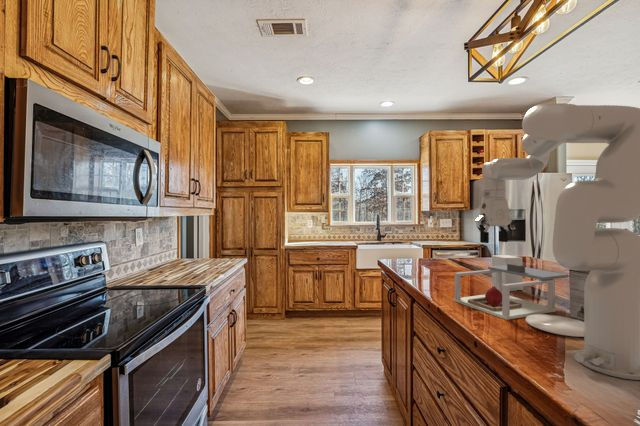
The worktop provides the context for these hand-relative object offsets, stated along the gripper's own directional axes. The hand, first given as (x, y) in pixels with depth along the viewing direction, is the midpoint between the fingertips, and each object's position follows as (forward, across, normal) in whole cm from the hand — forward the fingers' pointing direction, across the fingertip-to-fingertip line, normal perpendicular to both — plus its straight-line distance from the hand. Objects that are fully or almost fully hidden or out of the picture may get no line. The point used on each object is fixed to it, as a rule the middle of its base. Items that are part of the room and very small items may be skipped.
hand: (493, 242), depth 115 cm
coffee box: (+24, +19, -20) cm, 37 cm away
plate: (+24, +1, -22) cm, 33 cm away
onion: (+24, 0, 0) cm, 24 cm away
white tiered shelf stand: (+24, +4, 0) cm, 24 cm away
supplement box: (+24, +29, +18) cm, 42 cm away
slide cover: (+13, +16, 0) cm, 21 cm away
